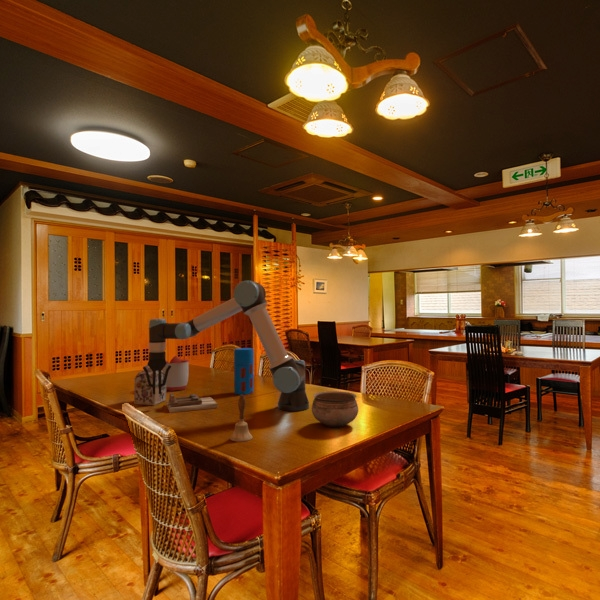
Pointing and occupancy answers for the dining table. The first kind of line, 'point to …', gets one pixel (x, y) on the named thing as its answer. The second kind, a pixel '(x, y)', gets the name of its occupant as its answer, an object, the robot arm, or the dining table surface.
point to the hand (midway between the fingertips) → (156, 401)
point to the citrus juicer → (177, 374)
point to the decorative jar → (147, 389)
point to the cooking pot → (335, 408)
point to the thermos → (243, 371)
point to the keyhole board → (206, 404)
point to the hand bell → (241, 425)
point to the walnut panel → (182, 400)
